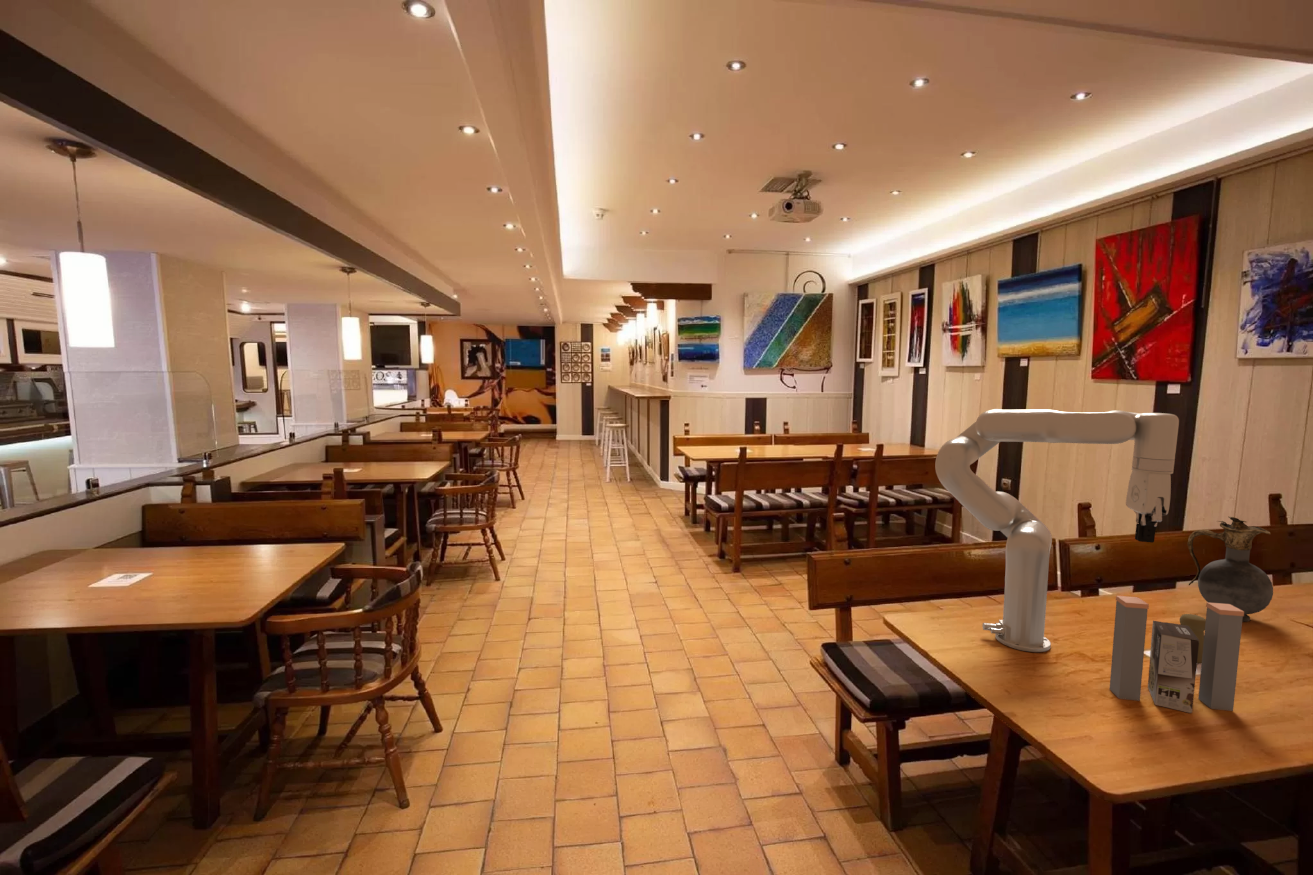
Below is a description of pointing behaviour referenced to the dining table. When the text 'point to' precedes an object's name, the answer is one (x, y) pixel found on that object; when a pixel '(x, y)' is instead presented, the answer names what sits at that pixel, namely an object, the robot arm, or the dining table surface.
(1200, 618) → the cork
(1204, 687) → the post far
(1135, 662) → the post near base
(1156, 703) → the coffee box
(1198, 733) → the dining table surface
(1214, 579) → the pitcher
